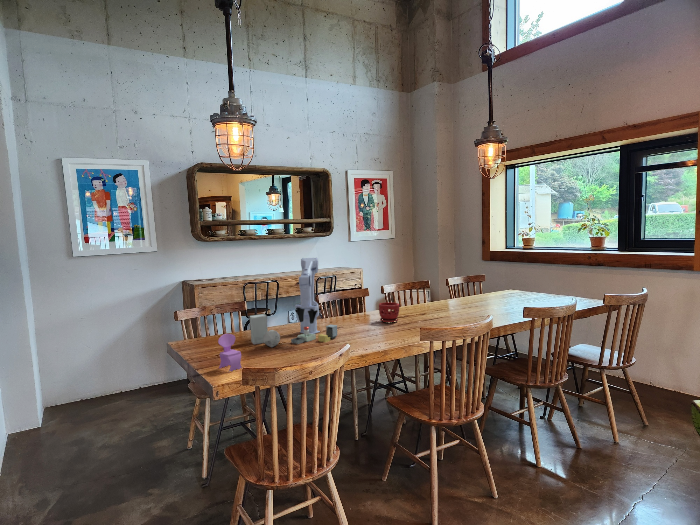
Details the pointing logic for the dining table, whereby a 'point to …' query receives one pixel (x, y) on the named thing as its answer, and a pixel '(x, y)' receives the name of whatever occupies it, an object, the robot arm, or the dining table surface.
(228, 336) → the toy chair
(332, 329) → the castor
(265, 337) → the die
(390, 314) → the plant pot
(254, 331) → the skincare box
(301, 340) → the pin socket
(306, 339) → the tray
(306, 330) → the pin
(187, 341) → the dining table surface
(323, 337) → the block
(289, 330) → the dining table surface
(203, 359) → the dining table surface
